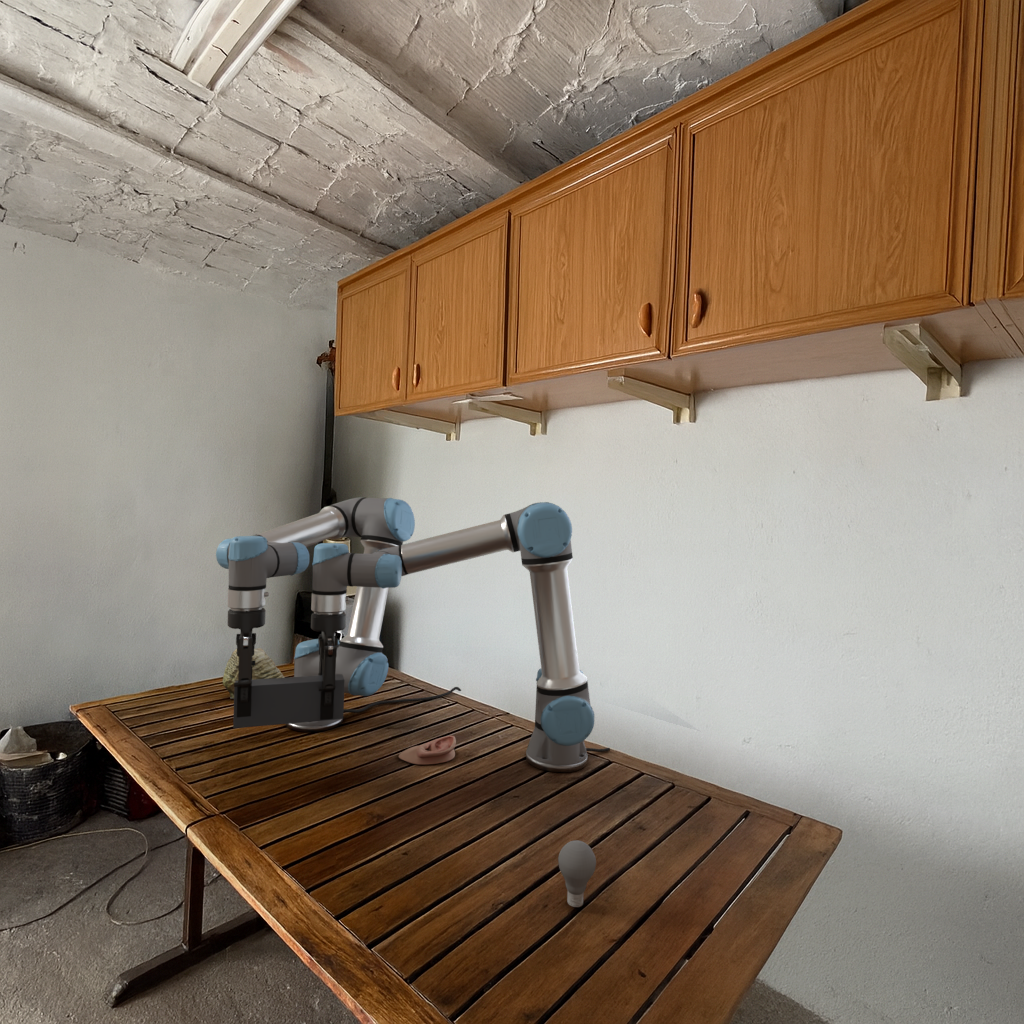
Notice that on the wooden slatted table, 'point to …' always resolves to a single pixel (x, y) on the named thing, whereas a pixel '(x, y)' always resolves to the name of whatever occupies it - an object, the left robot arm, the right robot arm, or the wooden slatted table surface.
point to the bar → (288, 701)
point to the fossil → (260, 670)
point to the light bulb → (576, 869)
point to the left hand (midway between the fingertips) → (244, 705)
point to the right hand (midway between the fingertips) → (325, 714)
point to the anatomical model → (431, 751)
